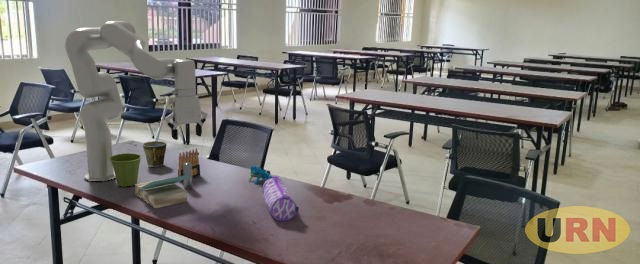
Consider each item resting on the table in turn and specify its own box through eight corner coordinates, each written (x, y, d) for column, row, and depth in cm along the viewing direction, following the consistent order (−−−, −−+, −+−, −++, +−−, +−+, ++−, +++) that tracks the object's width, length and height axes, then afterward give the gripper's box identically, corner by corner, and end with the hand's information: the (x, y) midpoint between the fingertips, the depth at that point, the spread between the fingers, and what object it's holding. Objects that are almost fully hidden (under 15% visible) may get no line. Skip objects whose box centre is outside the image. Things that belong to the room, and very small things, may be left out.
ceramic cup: (144, 163, 237) (142, 141, 234) (167, 161, 240) (166, 140, 237) (143, 171, 225) (142, 148, 222) (168, 170, 228) (167, 147, 225)
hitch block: (135, 194, 197) (134, 184, 196) (165, 188, 204) (165, 178, 203) (155, 208, 183) (154, 197, 182) (187, 201, 191) (186, 190, 190)
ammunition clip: (181, 182, 212) (180, 153, 209) (177, 181, 213) (176, 152, 210) (200, 175, 221) (199, 148, 218) (197, 175, 222) (196, 147, 219)
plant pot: (104, 187, 203) (102, 159, 201) (123, 178, 214) (121, 152, 212) (132, 190, 200) (130, 162, 198) (149, 181, 212) (147, 154, 209)
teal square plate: (141, 190, 189) (141, 187, 189) (175, 183, 198) (175, 180, 198) (153, 184, 180) (153, 181, 180) (188, 177, 188) (188, 174, 189)
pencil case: (299, 221, 175) (299, 194, 173) (271, 224, 173) (271, 196, 170) (284, 199, 196) (284, 174, 194) (259, 201, 193) (259, 176, 191)
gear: (277, 179, 213) (262, 165, 207) (271, 191, 211) (255, 177, 205) (260, 176, 221) (245, 163, 215) (253, 188, 219) (238, 175, 213)
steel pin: (182, 187, 205) (181, 163, 203) (190, 186, 207) (189, 161, 205) (186, 190, 203) (185, 165, 200) (193, 188, 205) (193, 163, 202)
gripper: (168, 96, 188) (170, 142, 192) (211, 92, 199) (212, 136, 203) (159, 93, 194) (161, 138, 198) (201, 89, 205) (202, 132, 209)
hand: (187, 137), depth 200 cm, fingers open, 9 cm apart
